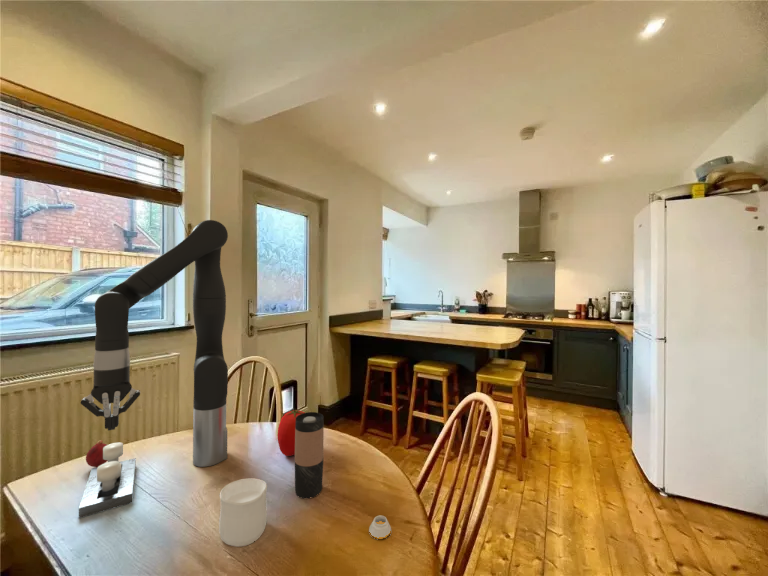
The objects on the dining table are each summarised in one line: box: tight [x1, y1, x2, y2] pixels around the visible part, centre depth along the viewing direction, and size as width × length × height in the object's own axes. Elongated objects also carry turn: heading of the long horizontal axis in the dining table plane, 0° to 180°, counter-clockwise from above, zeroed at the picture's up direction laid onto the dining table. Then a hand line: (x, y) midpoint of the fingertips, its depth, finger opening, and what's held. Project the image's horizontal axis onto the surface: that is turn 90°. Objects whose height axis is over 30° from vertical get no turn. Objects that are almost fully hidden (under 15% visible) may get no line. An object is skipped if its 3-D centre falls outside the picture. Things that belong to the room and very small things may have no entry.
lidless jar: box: [368, 515, 392, 538], centre depth 75 cm, size 5×3×5 cm
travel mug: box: [294, 411, 325, 499], centre depth 89 cm, size 8×8×20 cm
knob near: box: [97, 461, 121, 491], centre depth 83 cm, size 4×4×6 cm
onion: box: [85, 439, 108, 468], centre depth 98 cm, size 6×6×8 cm
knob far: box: [103, 441, 124, 462], centre depth 93 cm, size 4×4×6 cm
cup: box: [218, 477, 268, 548], centre depth 74 cm, size 10×10×10 cm
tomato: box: [276, 408, 306, 457], centre depth 108 cm, size 13×11×14 cm
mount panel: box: [78, 457, 137, 519], centre depth 88 cm, size 10×20×2 cm, turn 35°
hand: (111, 429), depth 89 cm, fingers closed
